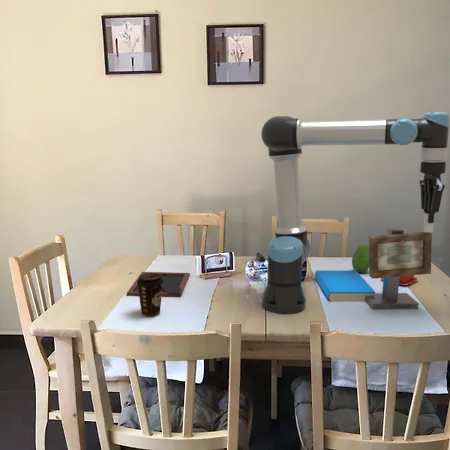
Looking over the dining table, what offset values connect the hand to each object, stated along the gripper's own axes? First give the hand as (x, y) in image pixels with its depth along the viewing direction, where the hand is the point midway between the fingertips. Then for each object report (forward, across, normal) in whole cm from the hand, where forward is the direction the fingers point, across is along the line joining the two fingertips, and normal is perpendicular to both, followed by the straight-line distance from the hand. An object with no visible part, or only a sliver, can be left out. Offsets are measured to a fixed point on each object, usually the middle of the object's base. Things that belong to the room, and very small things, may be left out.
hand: (428, 231), depth 159 cm
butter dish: (+28, +28, -3) cm, 39 cm away
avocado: (+27, +40, +9) cm, 49 cm away
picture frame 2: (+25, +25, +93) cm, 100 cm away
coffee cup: (+25, -3, +93) cm, 96 cm away
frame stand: (+27, +5, +10) cm, 29 cm away
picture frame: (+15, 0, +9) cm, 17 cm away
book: (+27, +19, +23) cm, 40 cm away
